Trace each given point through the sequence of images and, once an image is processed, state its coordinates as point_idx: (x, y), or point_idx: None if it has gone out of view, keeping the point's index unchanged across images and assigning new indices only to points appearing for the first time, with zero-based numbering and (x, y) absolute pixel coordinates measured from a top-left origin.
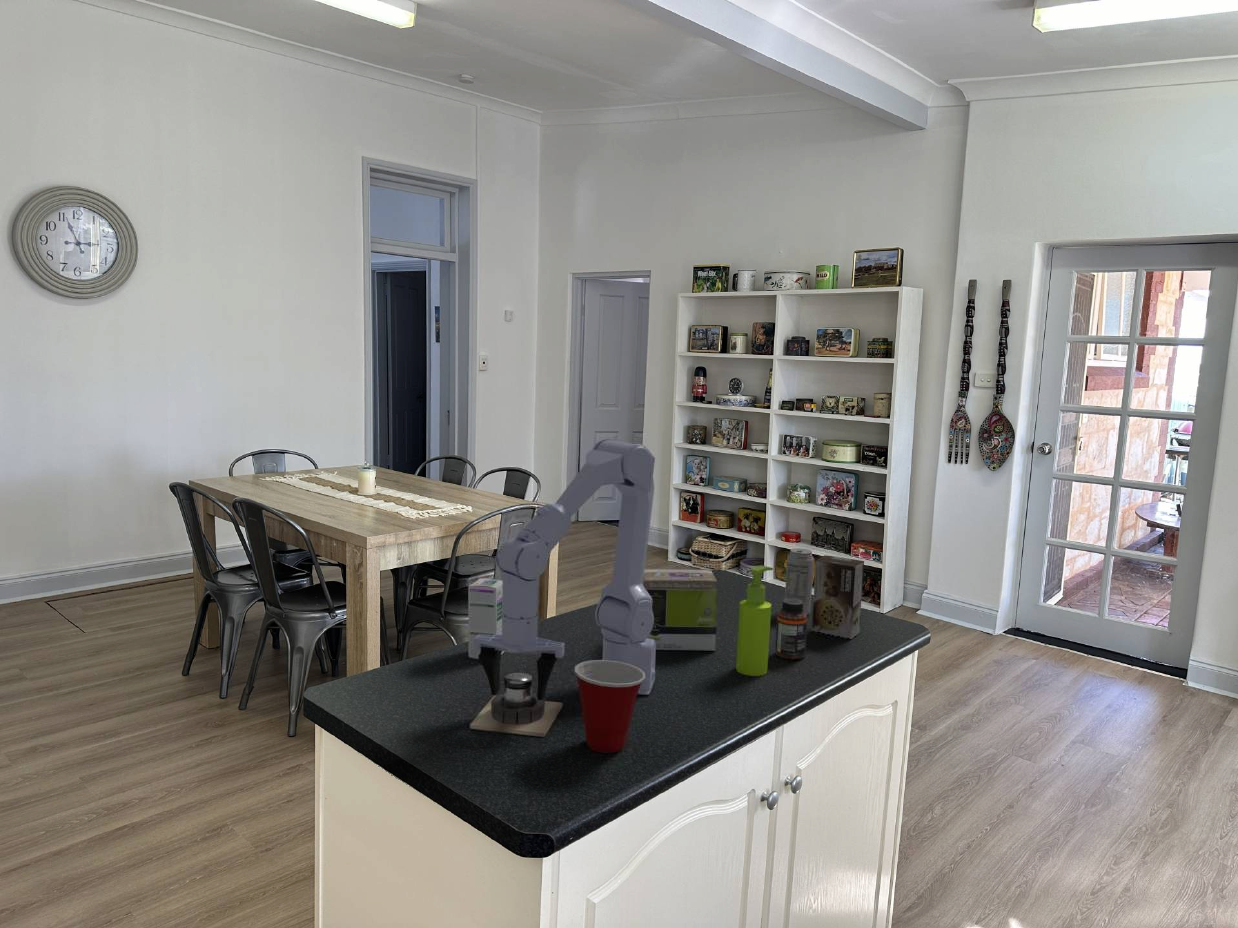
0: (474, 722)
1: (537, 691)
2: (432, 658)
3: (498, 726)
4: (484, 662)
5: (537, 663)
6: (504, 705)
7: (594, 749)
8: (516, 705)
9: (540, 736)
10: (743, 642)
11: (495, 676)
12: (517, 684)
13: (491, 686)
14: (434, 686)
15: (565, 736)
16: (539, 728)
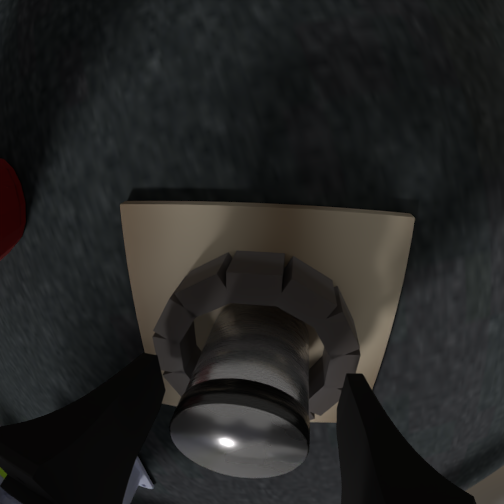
0: (401, 240)
1: (138, 373)
2: (470, 484)
3: (301, 222)
4: (437, 494)
5: (33, 463)
6: (303, 343)
7: (3, 160)
8: (241, 327)
9: (137, 201)
10: (2, 471)
11: (356, 445)
12: (217, 398)
13: (370, 397)
14: (490, 419)
15: (76, 222)
16: (145, 237)
